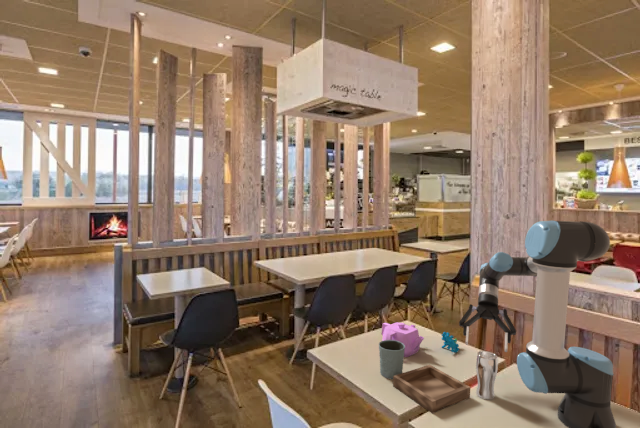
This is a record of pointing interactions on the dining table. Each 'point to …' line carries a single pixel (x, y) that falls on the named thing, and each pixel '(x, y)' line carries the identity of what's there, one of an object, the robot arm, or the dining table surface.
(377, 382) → the dining table surface
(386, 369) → the grey green cup
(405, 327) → the teakettle
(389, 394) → the dining table surface
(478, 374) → the beer glass
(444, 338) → the teal spiky toy
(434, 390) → the tray
